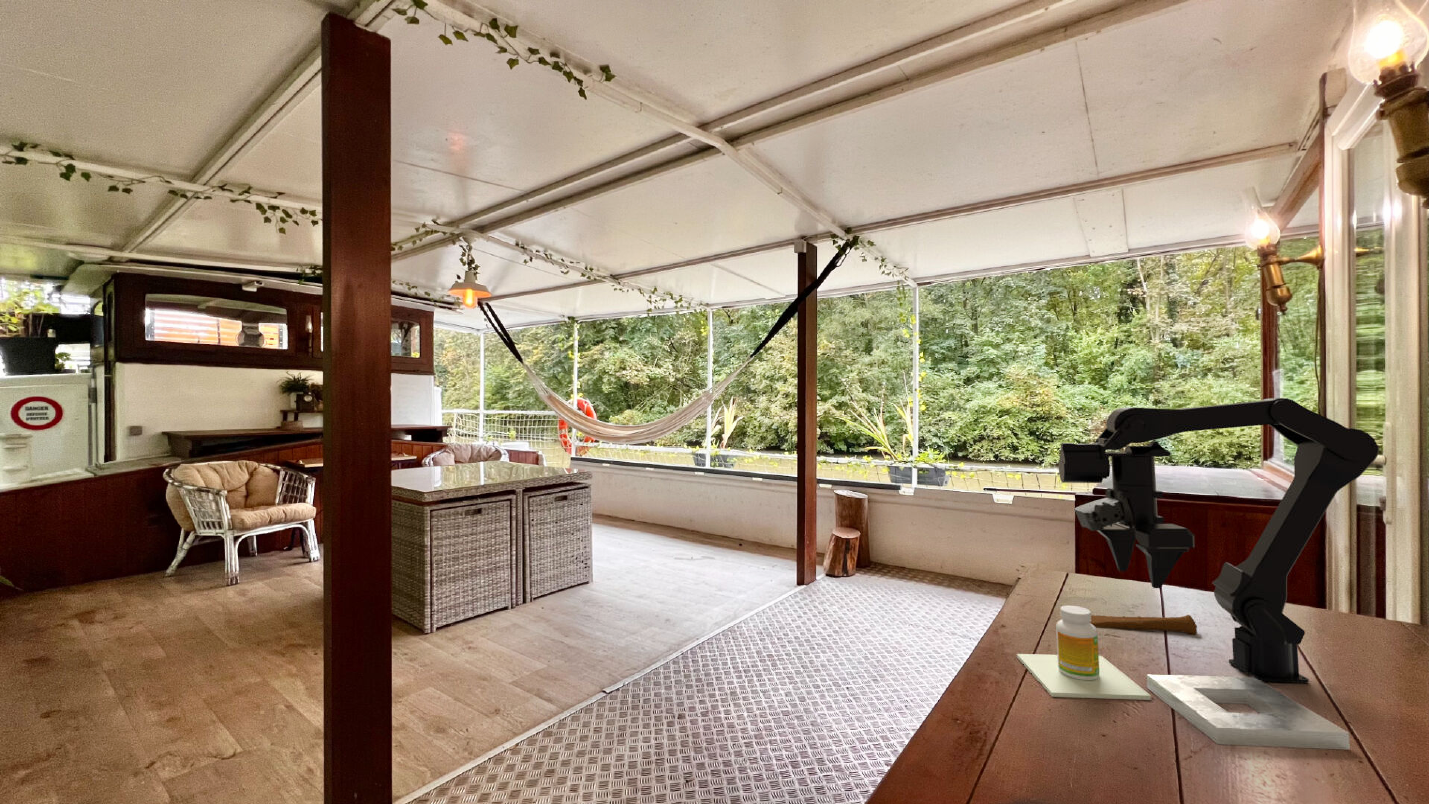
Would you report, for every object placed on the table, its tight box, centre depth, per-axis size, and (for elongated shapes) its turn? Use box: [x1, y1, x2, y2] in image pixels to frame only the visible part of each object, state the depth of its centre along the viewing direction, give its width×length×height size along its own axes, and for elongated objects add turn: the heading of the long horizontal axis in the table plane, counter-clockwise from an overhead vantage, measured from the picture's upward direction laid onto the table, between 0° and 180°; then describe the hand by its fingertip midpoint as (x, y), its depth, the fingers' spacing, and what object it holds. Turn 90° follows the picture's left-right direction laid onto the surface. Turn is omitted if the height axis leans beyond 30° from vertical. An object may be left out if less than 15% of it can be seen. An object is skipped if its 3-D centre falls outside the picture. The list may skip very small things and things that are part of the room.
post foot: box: [1146, 674, 1351, 751], centre depth 75 cm, size 14×14×2 cm
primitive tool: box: [1090, 614, 1198, 636], centre depth 106 cm, size 19×6×4 cm, turn 68°
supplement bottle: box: [1055, 605, 1100, 680], centre depth 87 cm, size 5×5×10 cm
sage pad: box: [1016, 653, 1152, 701], centre depth 87 cm, size 13×13×1 cm
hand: (1138, 579), depth 92 cm, fingers open, 9 cm apart
